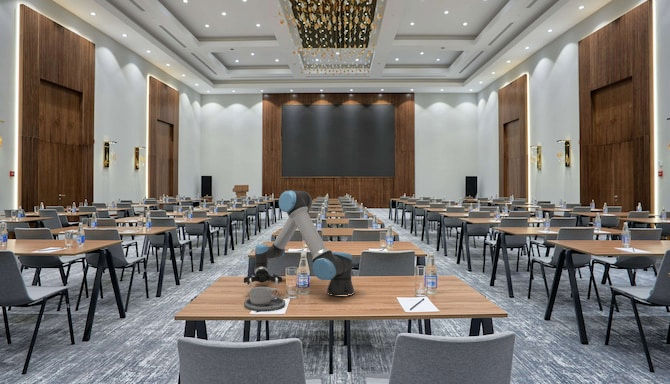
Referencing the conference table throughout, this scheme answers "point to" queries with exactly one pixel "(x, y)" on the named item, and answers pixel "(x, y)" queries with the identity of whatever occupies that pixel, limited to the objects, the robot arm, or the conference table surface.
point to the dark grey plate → (273, 305)
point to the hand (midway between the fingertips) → (263, 283)
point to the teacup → (262, 295)
